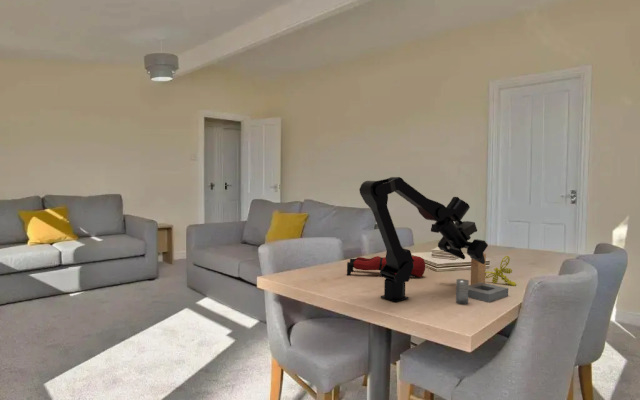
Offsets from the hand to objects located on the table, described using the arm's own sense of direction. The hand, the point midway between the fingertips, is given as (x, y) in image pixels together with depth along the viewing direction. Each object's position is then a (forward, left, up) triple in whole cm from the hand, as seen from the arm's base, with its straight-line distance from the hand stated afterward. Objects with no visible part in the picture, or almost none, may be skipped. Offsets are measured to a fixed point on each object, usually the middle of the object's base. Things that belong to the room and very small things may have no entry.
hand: (474, 260), depth 152 cm
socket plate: (-6, -8, -10) cm, 14 cm away
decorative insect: (+13, -2, -10) cm, 16 cm away
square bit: (+2, 0, -10) cm, 10 cm away
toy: (-10, +32, -10) cm, 35 cm away
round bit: (-19, -8, -10) cm, 23 cm away
